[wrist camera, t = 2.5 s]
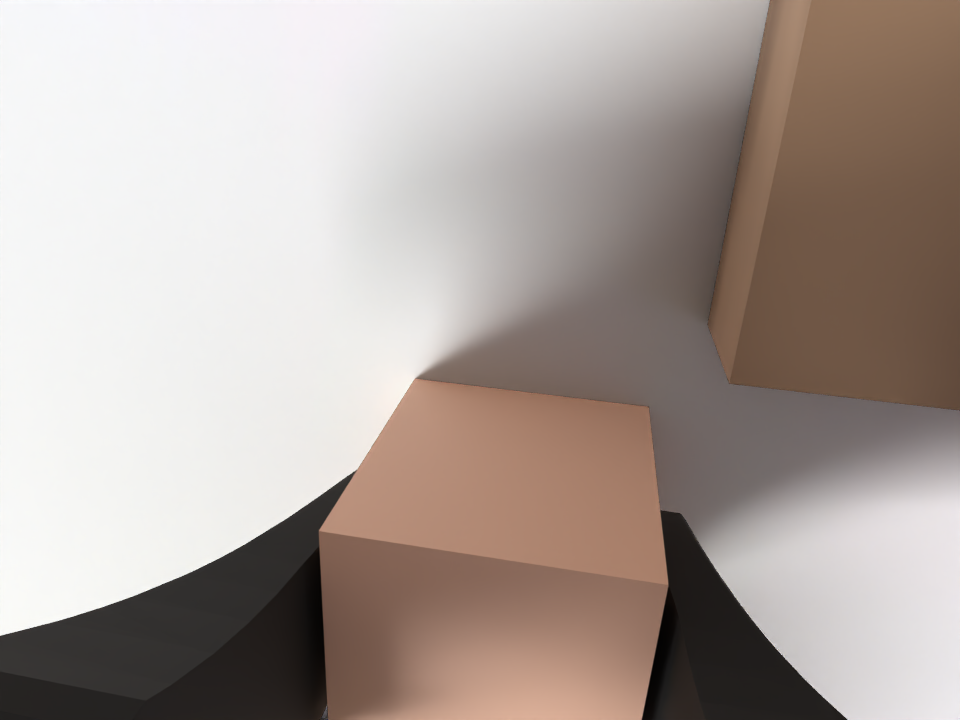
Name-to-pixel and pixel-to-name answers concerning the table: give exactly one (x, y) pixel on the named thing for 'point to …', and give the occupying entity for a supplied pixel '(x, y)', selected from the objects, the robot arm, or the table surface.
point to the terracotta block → (496, 562)
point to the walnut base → (848, 207)
